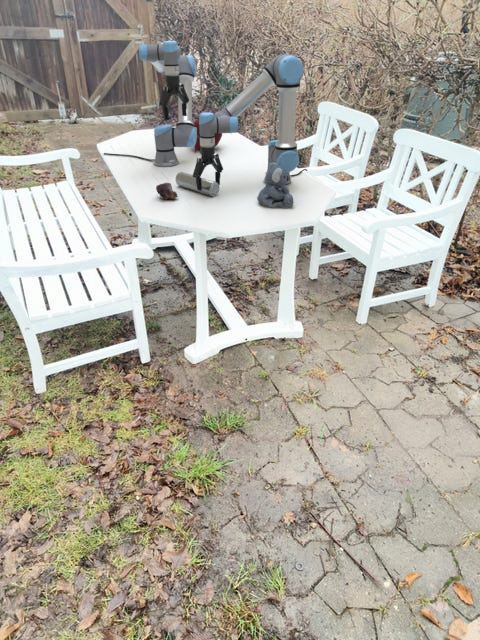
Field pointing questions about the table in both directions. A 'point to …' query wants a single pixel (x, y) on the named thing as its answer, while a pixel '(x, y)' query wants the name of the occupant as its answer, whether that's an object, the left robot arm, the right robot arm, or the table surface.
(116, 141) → the table surface
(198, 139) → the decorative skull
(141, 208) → the table surface
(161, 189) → the rock
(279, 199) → the koala plush
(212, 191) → the rod
